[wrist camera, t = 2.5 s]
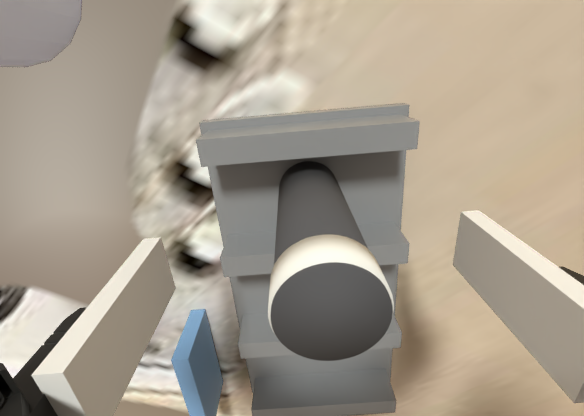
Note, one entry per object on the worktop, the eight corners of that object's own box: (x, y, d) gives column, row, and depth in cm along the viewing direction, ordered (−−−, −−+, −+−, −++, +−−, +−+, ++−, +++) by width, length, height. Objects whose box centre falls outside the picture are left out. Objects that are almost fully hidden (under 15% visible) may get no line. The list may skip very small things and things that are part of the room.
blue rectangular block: (205, 309, 26) (188, 359, 22) (223, 381, 30) (211, 437, 26) (191, 310, 26) (171, 360, 22) (210, 382, 30) (197, 437, 26)
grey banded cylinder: (338, 157, 20) (399, 258, 9) (339, 214, 22) (392, 358, 11) (274, 162, 20) (260, 268, 9) (280, 219, 22) (274, 366, 11)
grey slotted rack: (403, 103, 20) (429, 110, 16) (386, 373, 30) (400, 415, 26) (203, 120, 20) (184, 131, 16) (253, 382, 30) (248, 425, 27)
